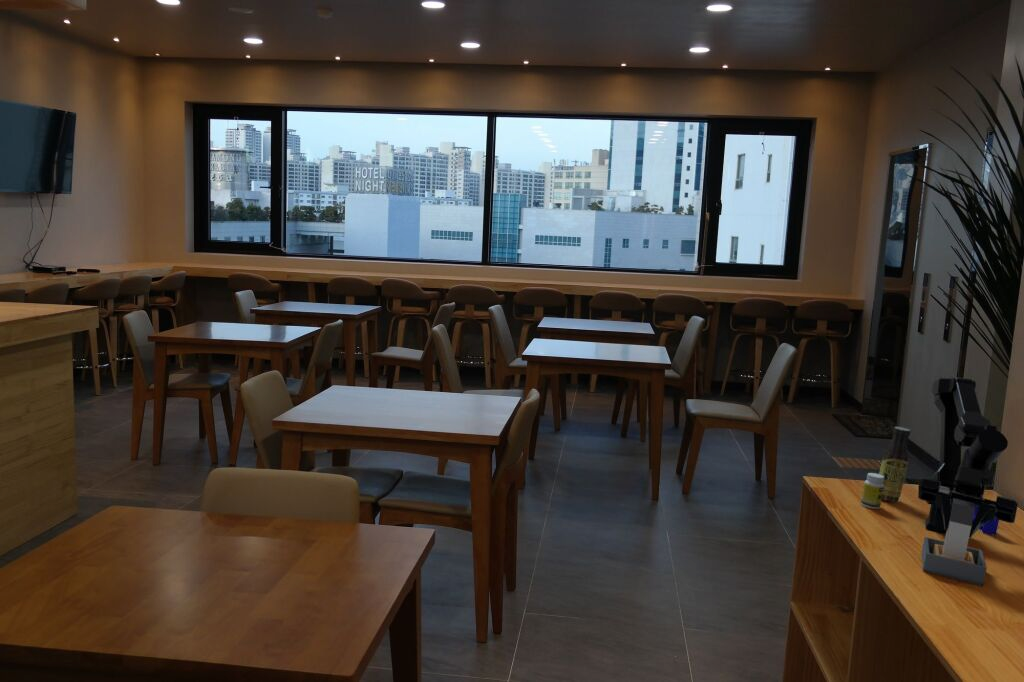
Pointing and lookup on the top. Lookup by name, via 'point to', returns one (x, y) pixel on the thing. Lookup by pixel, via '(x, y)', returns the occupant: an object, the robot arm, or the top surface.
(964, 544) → the plug
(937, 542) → the walled box
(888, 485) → the sauce bottle
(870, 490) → the supplement bottle
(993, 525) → the cable clip
